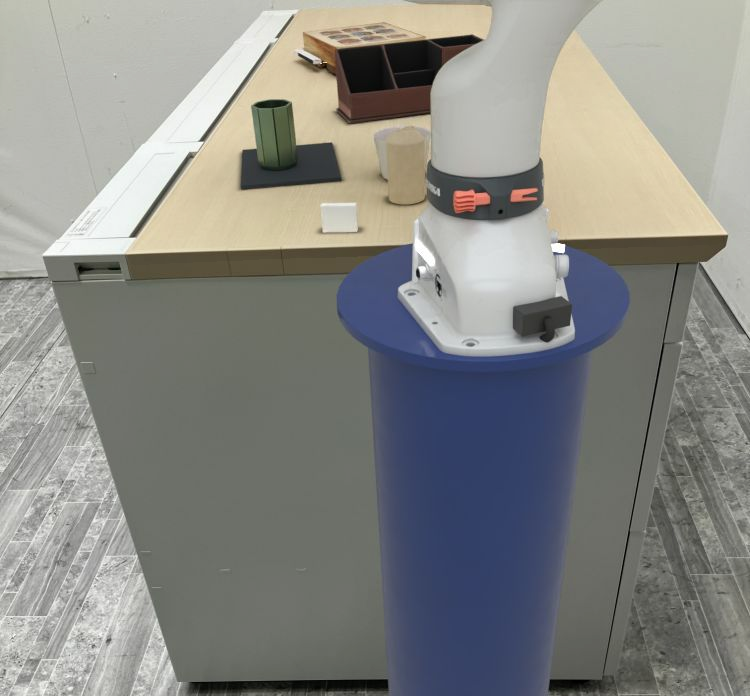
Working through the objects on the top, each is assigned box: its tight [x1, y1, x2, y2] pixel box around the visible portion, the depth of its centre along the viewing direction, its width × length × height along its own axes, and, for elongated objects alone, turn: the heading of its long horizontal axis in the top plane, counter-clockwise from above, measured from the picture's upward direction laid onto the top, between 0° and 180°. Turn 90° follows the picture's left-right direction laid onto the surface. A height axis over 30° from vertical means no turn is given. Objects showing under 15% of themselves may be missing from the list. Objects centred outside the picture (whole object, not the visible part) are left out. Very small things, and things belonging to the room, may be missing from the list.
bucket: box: [250, 98, 298, 171], centre depth 135 cm, size 10×6×6 cm
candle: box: [386, 125, 426, 205], centre depth 121 cm, size 6×6×10 cm
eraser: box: [319, 202, 359, 233], centre depth 114 cm, size 1×5×4 cm, turn 85°
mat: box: [240, 141, 342, 190], centre depth 139 cm, size 20×16×1 cm
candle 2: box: [372, 125, 431, 181], centre depth 130 cm, size 9×9×6 cm
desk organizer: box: [335, 33, 485, 124], centre depth 161 cm, size 10×29×11 cm, turn 106°
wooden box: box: [292, 21, 427, 75], centre depth 199 cm, size 25×6×28 cm
